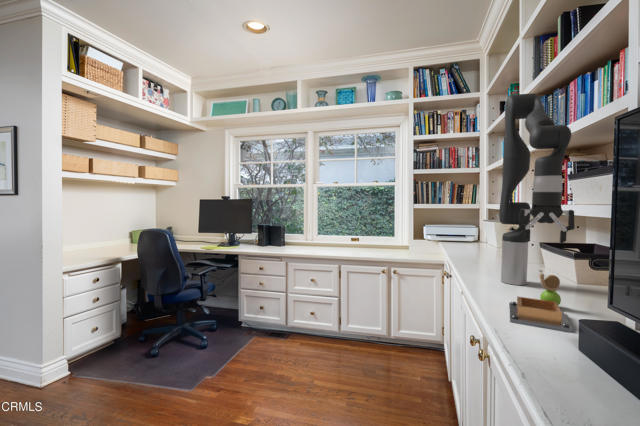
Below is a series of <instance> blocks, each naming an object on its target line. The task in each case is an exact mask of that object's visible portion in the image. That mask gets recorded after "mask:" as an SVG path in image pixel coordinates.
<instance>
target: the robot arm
mask: <svg viewBox="0 0 640 426" xmlns="http://www.w3.org/2000/svg"><path fill="white" fill-rule="evenodd" d="M516 120H525V121H524V126H525V129H526V131H527V132H528V133H529V138H528V142H529V146H530V147H531V148H533V149H536V150H549V149H551V150H553V151H552V152H551V154H549V155H545V156H541V157H538V158H536V159H535V160H534V170H533V171H534V173H533V175H534V176H533V182H532V194H531V195H532V196H531V205H530V203H528V202H525V201H524V202H522V201H521V202H518V201H511V198H512V195H513V193H514V192H515V190H516V188H517V187H518V186H519V184H520V183H521V182H522V181H523V180H524V178H525V177H526V176H527V175H528V173H529V171H530V167H531V151H530V149H529V147H528V145H527V144H526V142H525V140H523V139H522V137H521V135H520V132H519V131H518V128H517V123H516V122H517V121H516ZM504 133H505V134H504V149H503V150H504V151H503V159H502V179H501V181H502V183H501V193H500V203H499V211H498V219H499V220H498V221H499V222H500V223H501V224H502V225H516V226H518V227H517V228H516V229H513V230H512V231H508V232H504V233H503V234H502V237H501V240H502V241H501V243H502V244H501V264H500V265H501V267H500V281H501V282H502V283H504V284H508V285H514V286H516V285H517V286H526V285H527V283H528V281H527V280H528V261H529V260H528V259H529V243H530V242H531V228H532V227H533V226H534V225H535V224H536V223H539V224H555V225H557V226H558V228H559V229H560V230H559V231H560V232H559V244H564V243H566V242H567V233H568V232H569V231H573V230H575V210H573V209H568V210H563V209H562V201H563V200H562V198H563V196H562V195H563V189H564V188H563V163H564V159H565V156H566V152H567V150H568V147H569V145H570V142H571V139H572V131H571V128H570V127H569V126H568V125H565V124H557V125H556V124H555V122H554V120H553V119H552V118H551V117H550V116H549V114H547V113H546V110H545V106H544V105H543V102H542V99H541V98H540V96H539V95H538V94H537V93H521V94H518V93H517V94H511V95H508V97H507V98H506V101H505V105H504ZM562 215H564V217H566V218H567V219H568V220H567V224H568V225H564V224H563V222H562V221H561V220H560V219H559V218H560V217H562ZM531 216H532V219H531Z"/></svg>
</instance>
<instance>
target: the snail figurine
mask: <svg viewBox="0 0 640 426" xmlns="http://www.w3.org/2000/svg"><path fill="white" fill-rule="evenodd" d="M538 271H539V272H540V273H539V274H538V275H539V279H540V281H539V282H540V284H541V286H542V288H543V289H544V291H542V292H541V294H540V296H539V299H540V300H547V301H554V302H557V304H558V306H560V305H561V301H562V299H561V298H562V297H561V296H560V294H559V293H558V292H556V291H558V290H559V288H560V287H559V286H560V284H561V280H560V278H559V277H558V276H556V275H554V274H550V275H547V276H546V277H545V274H544V273H543V270H542V269H538Z"/></svg>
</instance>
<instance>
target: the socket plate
mask: <svg viewBox="0 0 640 426" xmlns="http://www.w3.org/2000/svg"><path fill="white" fill-rule="evenodd" d="M516 297H517V298H516V301H509V304H508V308H509V309H508V310H510V311H509V323H513V324H519V323H520V325H525V324H526V325H525V326H533V327H537V328H542V329H543V328H544V329H549V330H550V329H551V330H556V331H560V332H565V333H566V332H567V333H573V327H572V325H571V323H570V322H569V320H568V318H567V315H566V314H565V312H564V310H563V309H562V308H560V305H558V304H557V302H554V301H547V300H541V299H540V298H530V297H526V296H525V297H524V296H516Z"/></svg>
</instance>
